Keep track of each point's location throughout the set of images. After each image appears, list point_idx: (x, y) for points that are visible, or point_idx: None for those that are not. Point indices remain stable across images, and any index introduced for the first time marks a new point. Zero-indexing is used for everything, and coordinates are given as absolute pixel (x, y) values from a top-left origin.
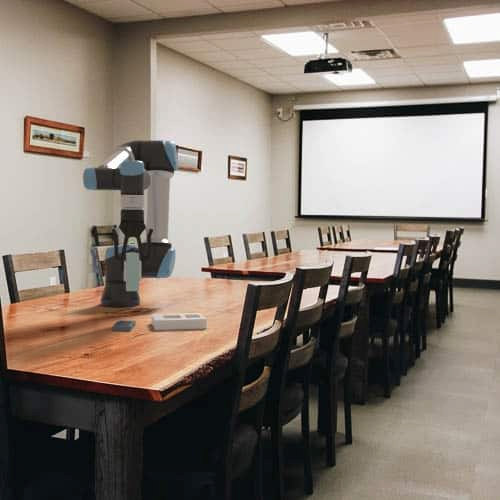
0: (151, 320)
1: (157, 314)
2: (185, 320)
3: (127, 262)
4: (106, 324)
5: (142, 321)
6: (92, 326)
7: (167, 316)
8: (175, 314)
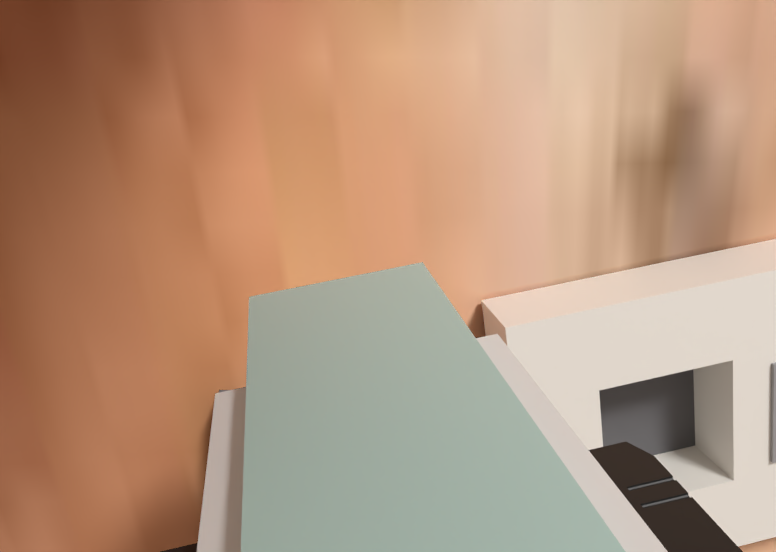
0: (489, 314)
1: (557, 341)
2: (745, 539)
3: None
4: (102, 335)
5: (398, 176)
6: (4, 430)
7: (633, 377)
8: (704, 331)
